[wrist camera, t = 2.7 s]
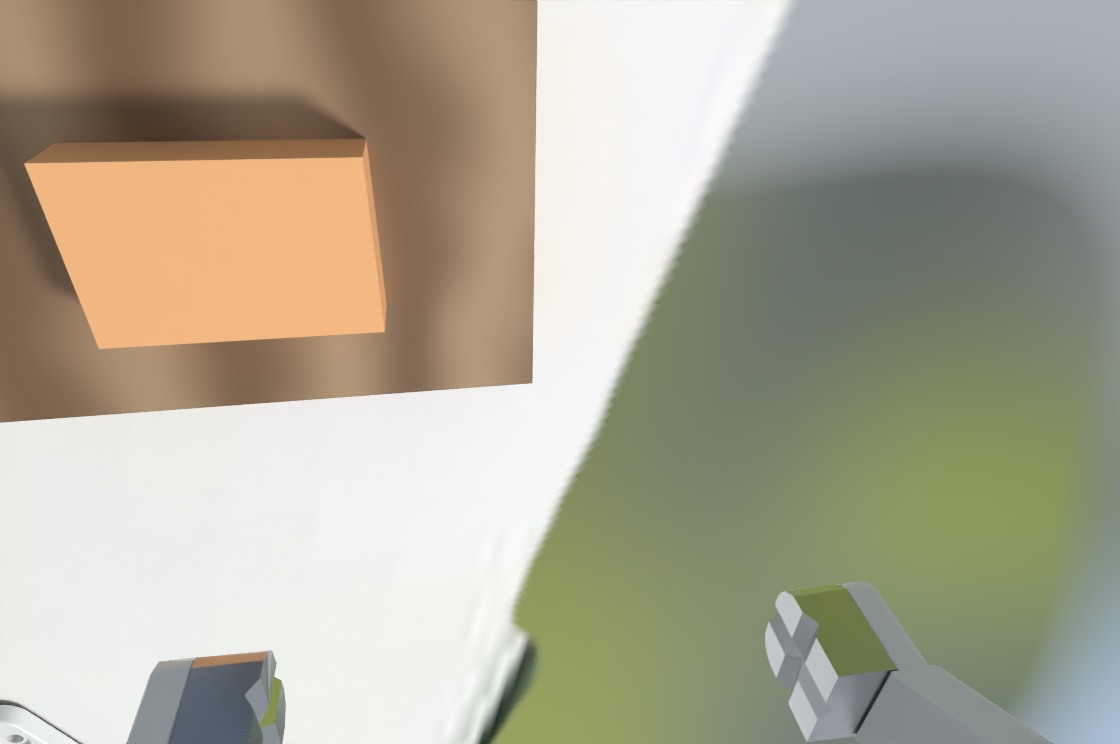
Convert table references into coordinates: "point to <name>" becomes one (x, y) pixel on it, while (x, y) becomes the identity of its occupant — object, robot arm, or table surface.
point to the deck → (282, 114)
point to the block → (216, 238)
